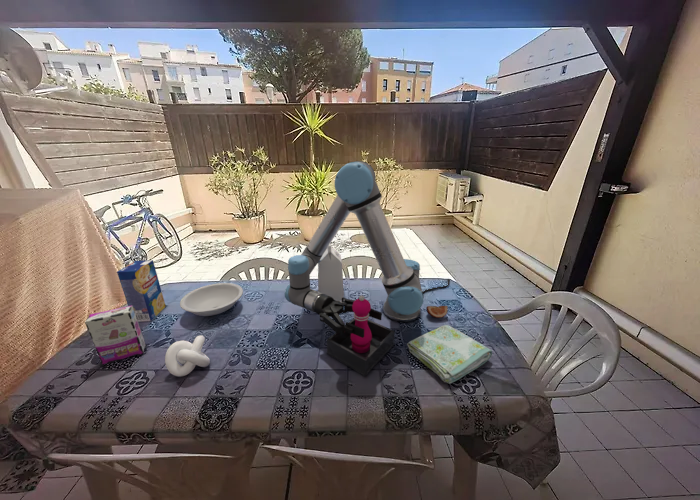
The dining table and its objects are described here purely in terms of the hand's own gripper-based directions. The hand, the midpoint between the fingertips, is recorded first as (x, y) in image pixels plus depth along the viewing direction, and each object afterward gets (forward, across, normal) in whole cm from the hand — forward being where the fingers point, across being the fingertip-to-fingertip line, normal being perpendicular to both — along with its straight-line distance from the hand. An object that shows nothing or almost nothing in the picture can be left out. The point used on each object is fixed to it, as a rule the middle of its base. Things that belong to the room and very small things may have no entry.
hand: (372, 324), depth 86 cm
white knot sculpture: (-44, +36, -12) cm, 59 cm away
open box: (-4, 0, -12) cm, 13 cm away
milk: (-36, -22, -12) cm, 44 cm away
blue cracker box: (-89, +32, -12) cm, 95 cm away
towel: (+21, -14, -12) cm, 28 cm away
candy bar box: (-68, +47, -12) cm, 84 cm away
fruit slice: (+10, -34, -12) cm, 38 cm away
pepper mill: (-4, 0, -11) cm, 12 cm away
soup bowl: (-70, +15, -12) cm, 72 cm away
